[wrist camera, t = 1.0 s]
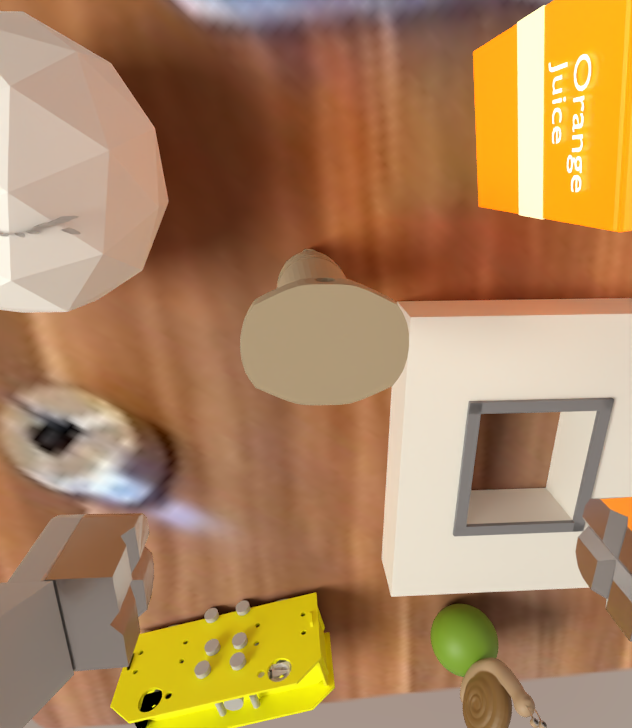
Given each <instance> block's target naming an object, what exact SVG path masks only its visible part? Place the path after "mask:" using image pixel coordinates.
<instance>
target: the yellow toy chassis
mask: <svg viewBox="0 0 632 728" xmlns="http://www.w3.org/2000/svg"><path fill="white" fill-rule="evenodd" d="M204 618H205V619H201V620H197V621H193V622H189V623H185V624H180V625H171V626H169V627H167V628H164V629H159V630H155V631H151V632H147V633H143V634H139V637H138V640H137V643H136V646H135V649H134V652H133V655H132V658H131V661H130V664H129V667H123V669H122V672H121V675H120V678H119V681H118V684H117V687H116V690H115V693H114V697H113V700H112V703H111V708H112V709H113V710H114V711H115V712H117V713H118V714H119V715H120V716H121V717H122V718H124V719H125V720H126V721H127V722H128V723H129V724H130V723H135V725H136V727H137V728H236V727H240V726H244V725H248V724H253V723H257V722H262V721H266V720H271V719H275V718H279V717H284V716H288V715H293V714H297V713H301V712H305V711H310V710H313V709H314V708H315V707H316V706H317V705H318V704H319V703H320V702H321V701H322V700H323V699H324V698H325V697H326V696H327V695H328V694H329V693H330V692H331V691H332V690H333V689H334V688H335V684H334V674H333V664H332V653H331V643H330V633H329V632H327V633H324V631H323V630H324V629H325V626H324V623H323V620H322V617H321V614H320V611H319V608H318V605H317V594H316V592H315V593H311V594H307V595H302V596H298V597H294V598H290V599H281V600H278V601H276V602H273V603H269V604H265V605H260V606H256V607H252V608H250V605H249V602H248V601H241V602H239V603H238V604H237V605H236V611H235V612H231V613H227V614H222V615H219V613H218V610H217V609H216V608H211V609H209V610H207V611H206V613H205V615H204ZM259 625H260V626H259ZM256 626H259V627H256Z"/></svg>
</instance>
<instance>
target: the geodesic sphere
mask: <svg viewBox="0 0 632 728" xmlns="http://www.w3.org/2000/svg"><path fill="white" fill-rule="evenodd" d="M168 202H169V200H168V195H167V190H166V184H165V179H164V174H163V169H162V163H161V158H160V153H159V147H158V142H157V137H156V131H155V127H154V126H153V124H152V123H151V121H150V120H149V118H148V117H147V116H146V114H145V113H144V111H143V110H142V108H141V107H140V105H139V104H138V102H137V101H136V99H135V98H134V96H133V95H132V93H131V92H130V90H129V89H128V87H127V86H126V85H125V83H124V82H123V80H122V79H121V77H120V76H119V74H118V73H117V71H116V70H115V68H114V67H113V65H112V64H111V63H110V62H108V61H107V60H105V59H103V58H101V57H100V56H98V55H96V54H95V53H93V52H91V51H90V50H88V49H86V48H84V47H83V46H81V45H79V44H78V43H76V42H74V41H72V40H71V39H69V38H67V37H66V36H64V35H62V34H60V33H59V32H57V31H55V30H54V29H52V28H50V27H48V26H47V25H45V24H43V23H42V22H40V21H38V20H36V19H35V18H33V17H31V16H30V15H28V14H26V13H24V12H7V11H0V310H7V311H15V312H68V311H71V310H73V309H76V308H78V307H81V306H83V305H86V304H88V303H91V302H93V301H96V300H98V299H100V298H101V297H103V296H104V295H106V294H107V293H109V292H110V291H112V290H113V289H115V288H116V287H118V286H119V285H121V284H122V283H124V282H126V281H127V280H129V279H130V278H132V277H133V276H135V275H136V274H138V273H139V272H141V271H142V270H143V268H144V265H145V263H146V260H147V257H148V255H149V252H150V250H151V247H152V244H153V242H154V239H155V236H156V234H157V231H158V229H159V226H160V223H161V221H162V218H163V215H164V213H165V210H166V207H167V205H168Z"/></svg>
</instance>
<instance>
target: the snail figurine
mask: <svg viewBox="0 0 632 728" xmlns="http://www.w3.org/2000/svg"><path fill="white" fill-rule="evenodd" d="M431 643H432V647H433V650H434V653H435V655H436V657H437V659H438V660H439V661H440V663H441V664H442V665H443V666H444V667H445V668H446V669H447V670H449V671H450V672H452V673H453V674H455V675H458V676H461V677H464V678H463V680H462V683H461V690H460V699H461V702H463V716H464V720H465V723H466V726H467V728H508V726H509V723H510V720H511V714H512V702H511V698H512V699H513V703H514V707H515V710H516V711H517V712H518V714H519V715H521V716H522V717H530V716H531V717H532V719H531V720H530V724H531V726H532V727H534V728H537V727H539V728H547V725H546V723H545V722H544V721H541V719H540V717H539V715H538V713H537V711H536V710H535V704H534V701H533V699H532V698H531V696H529V695H528V694H527V693H526V692H525V690H524V689H523V687H522V685H521V683H520V682H519V680H518V679H517V678H516V676H515V675H514V674H513V672H512V671H511V670H510V669H509V668H508V667H507V666H506V665H505V664H504V663H503V662H502V661H500V660H498V659H496V657H497V653H498V638H497V634H496V631H495V628H494V626H493V624H492V623H491V621H490V620H489V618H488V617H487V616H486V615H485V614H484V613H483V612H482V611H480V610H479V609H477V608H475V607H473V606H471V605H467V604H453V605H450V606H447V607H445V608H444V609H443V610H441V611H440V612H439V613H438V615H437V616H436V618H435V619H434V621H433V624H432V628H431ZM534 711H535V712H536V713H537V715H538V717H539V719H540V721H539V722H538V720H537V719H536V718H533V716H532V715H533V713H534Z"/></svg>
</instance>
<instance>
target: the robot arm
mask: <svg viewBox="0 0 632 728" xmlns="http://www.w3.org/2000/svg"><path fill="white" fill-rule="evenodd" d="M582 517H583V519H584V520H585V522H586V524H587V525H588V527H587V528H586V529H585V530H584V531H583V532H582V533H581V534H580V535H579V536H578V539H577V545H576V551H575V552H576V558H577V564H578V568H579V570H580V573H581V575H582V577H583V579H584V580H585V582H586V583H587V585H588V586H589V587H590V589H591V590H593V591H594V592H596V593H598V594H599V595H601V596H603V597H604V598H606V599H607V600H606V610H607V612H608V613H609V614H610V616H611V617H612V618H613V620H614V621H615V622H616V624H617V625H618V626H619V628H620V629H621V630H622V632H623V633H624V634H625V636H626V637H627V638H628V640H629V641H632V497H611V498H590V500H589V501H588V502H587V504H586V505H585V508H584V512H583V516H582ZM148 535H149V527H148V522H147V517H146V516H145V515H144V514H143V513H141V514H87V515H84V514H79V515H58V516H56V517H54V518H52V519H51V520H50V522H49V523H48V524H47V526H46V527H45V529H44V530H43V532H42V533H41V535H40V536H39V537H38V539H37V540H36V542H35V543H34V545H33V546H32V548H31V549H30V550H29V552H28V553H27V555H26V556H25V558H24V559H23V561H22V562H21V563H20V565H19V566H18V568H17V569H16V571H15V572H14V573H13V575H12V576H11V578H10V579H9V581H8V582H7V583H0V728H23V727H24V726H25V725H26V724H27V723H28V722H29V721H30V720H31V719H32V718H33V717H34V716H35V715H36V714H37V713H38V711H39V710H40V709H41V708H42V707H43V706H44V705H45V704H46V703H47V702H48V701H49V700H50V699H51V698H52V697H53V696H54V695H55V694H56V693H57V692H58V691H59V690H60V689H61V688H62V686H63V685H64V684H65V683H66V682H67V681H68V680H69V679H70V678H71V677H72V676H73V675H74V672H73V671H83V670H96V669H108V668H120V667H129V664H130V661H131V658H132V655H133V652H134V649H135V646H136V643H137V640H138V637H139V634H140V626H139V620H138V617H139V616H140V615H141V614H142V613H144V612H145V611H146V610H147V609H148V605H149V602H150V599H151V595H152V588H153V581H154V562H153V555H152V552H150V551H149V550H148V549H147V548H146V547H145V544H146V541H147V538H148Z"/></svg>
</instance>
